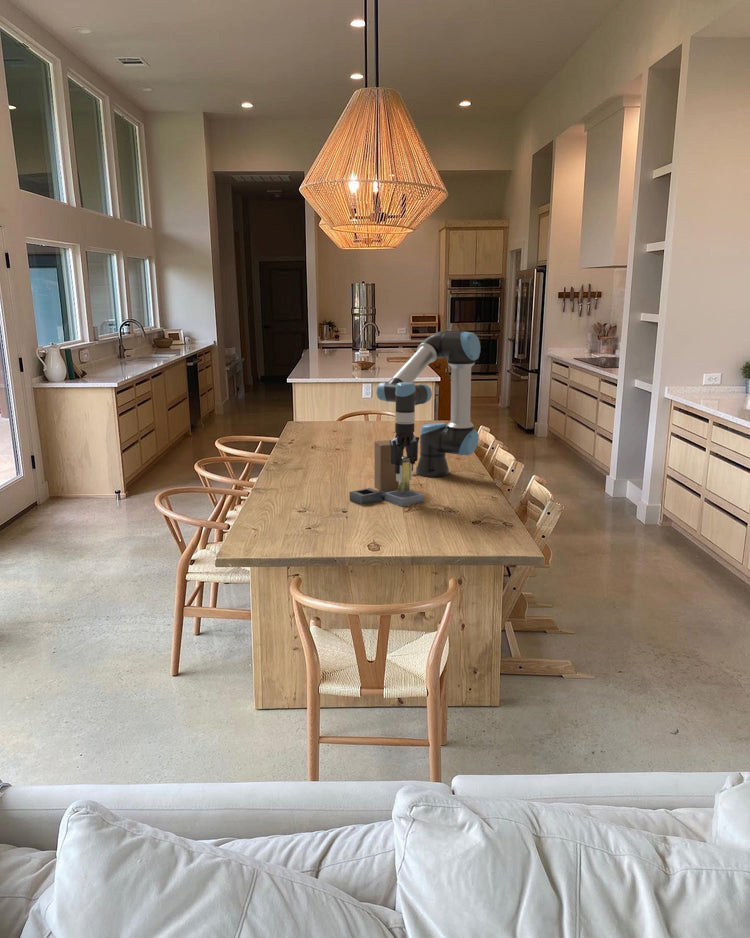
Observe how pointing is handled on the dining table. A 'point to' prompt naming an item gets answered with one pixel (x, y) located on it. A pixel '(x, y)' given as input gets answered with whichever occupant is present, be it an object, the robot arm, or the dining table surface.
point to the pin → (405, 475)
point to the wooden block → (384, 467)
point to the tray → (403, 497)
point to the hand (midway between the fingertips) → (403, 480)
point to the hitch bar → (367, 496)
